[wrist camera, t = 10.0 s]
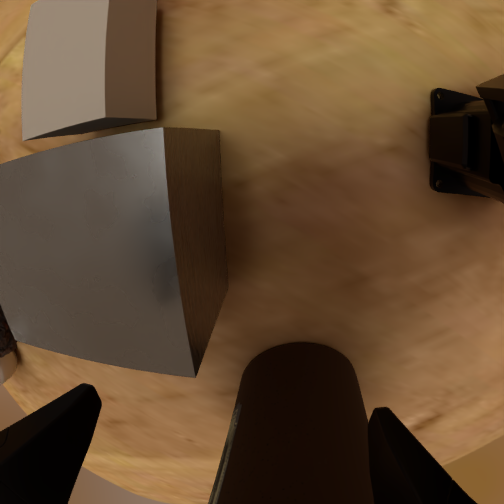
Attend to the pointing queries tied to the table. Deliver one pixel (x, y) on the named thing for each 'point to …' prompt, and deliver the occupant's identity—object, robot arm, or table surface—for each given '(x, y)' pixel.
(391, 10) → the table surface
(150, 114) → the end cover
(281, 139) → the table surface
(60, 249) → the housing
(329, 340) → the table surface
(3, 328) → the metal pipe
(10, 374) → the plastic bottle
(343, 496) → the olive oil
